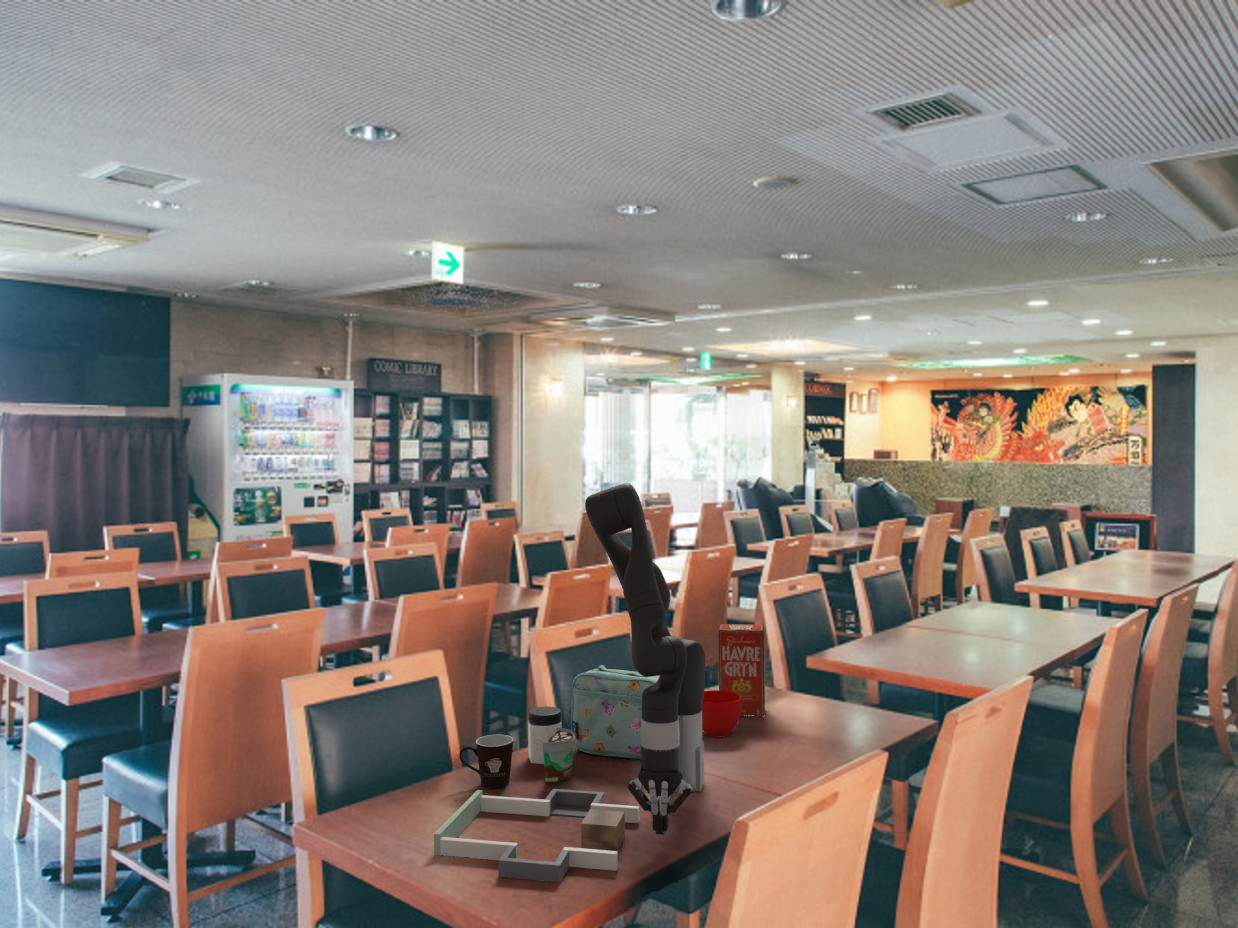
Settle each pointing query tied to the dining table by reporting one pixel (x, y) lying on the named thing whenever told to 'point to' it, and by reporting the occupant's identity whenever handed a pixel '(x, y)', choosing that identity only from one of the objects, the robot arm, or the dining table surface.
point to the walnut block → (603, 830)
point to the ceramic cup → (720, 712)
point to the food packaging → (743, 665)
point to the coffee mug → (493, 760)
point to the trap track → (508, 852)
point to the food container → (559, 757)
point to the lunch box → (608, 711)
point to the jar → (541, 730)
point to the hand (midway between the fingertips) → (660, 832)
